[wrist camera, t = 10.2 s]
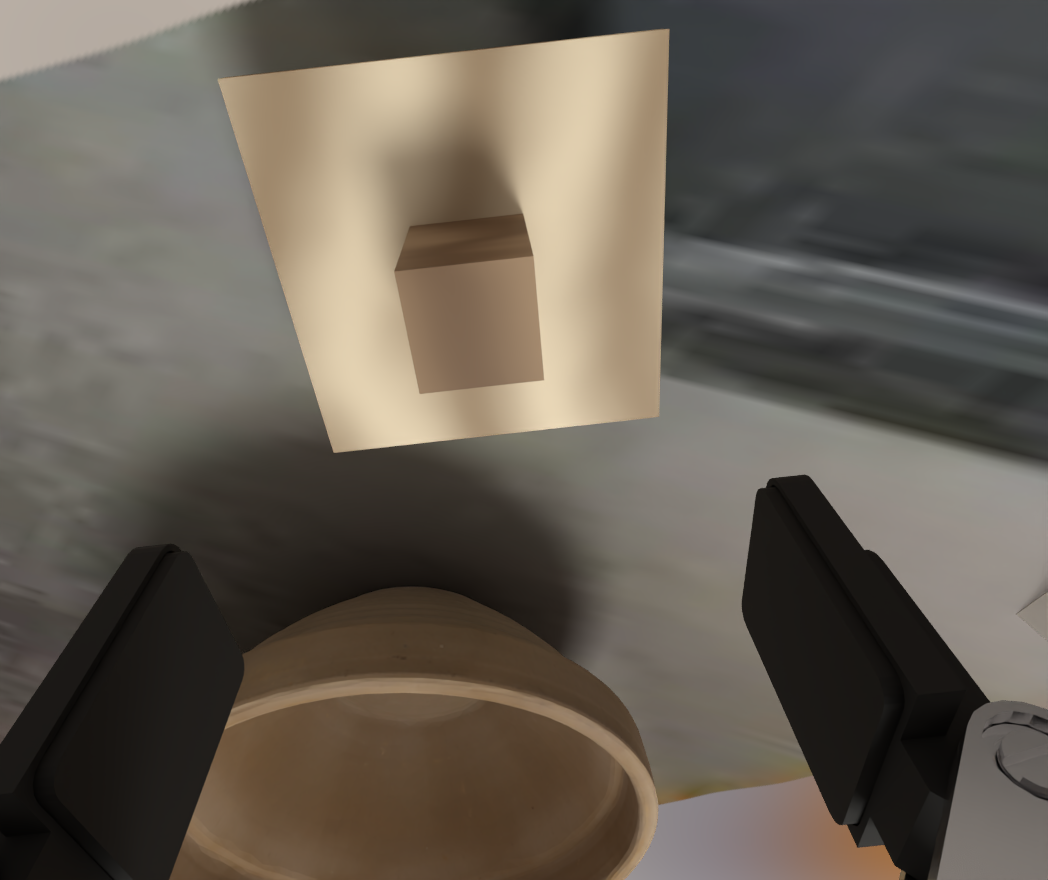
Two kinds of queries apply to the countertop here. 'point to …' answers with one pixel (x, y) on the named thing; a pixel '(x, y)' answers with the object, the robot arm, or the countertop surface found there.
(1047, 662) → the countertop surface
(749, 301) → the countertop surface
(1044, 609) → the grater
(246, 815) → the flower pot
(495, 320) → the lid
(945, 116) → the countertop surface
